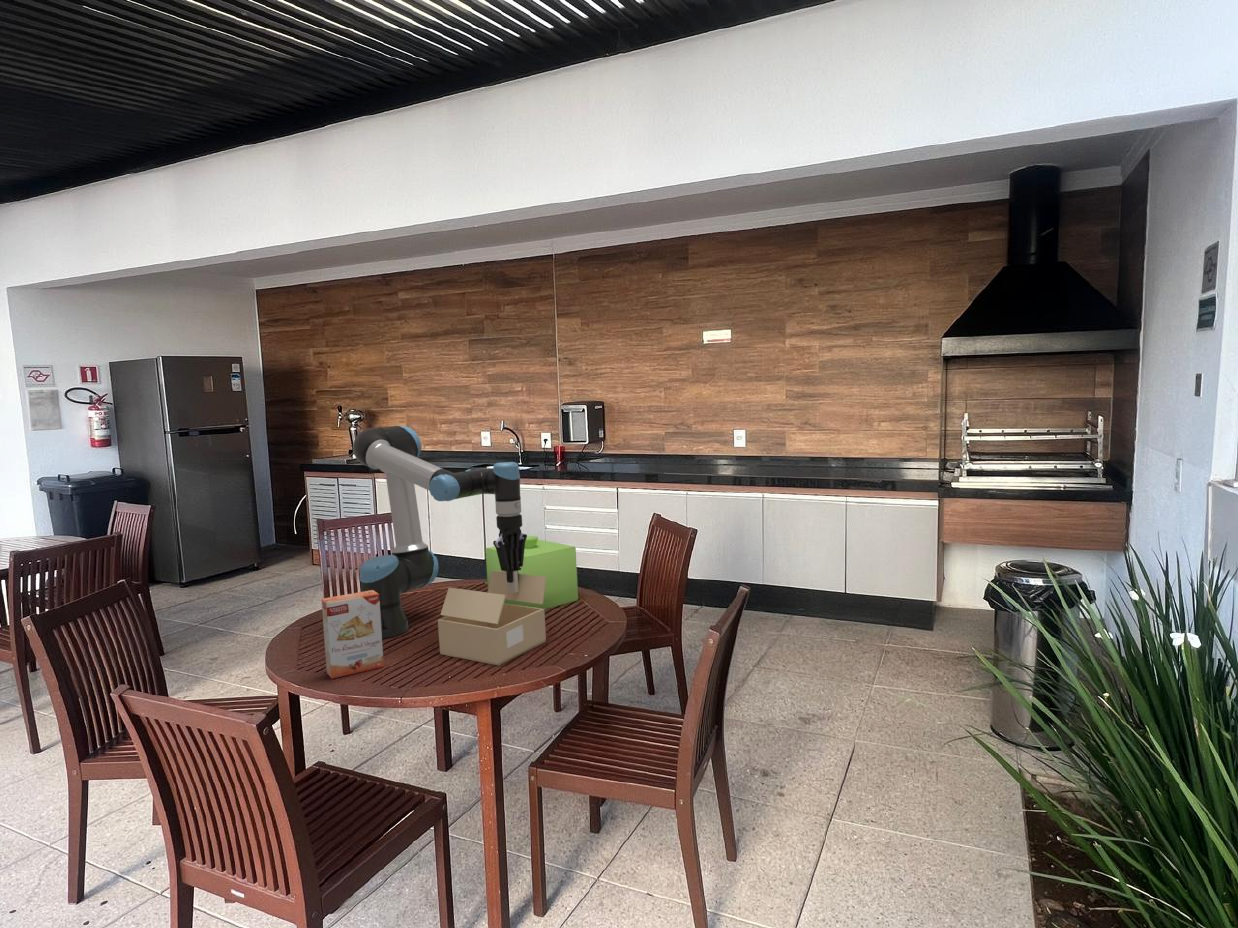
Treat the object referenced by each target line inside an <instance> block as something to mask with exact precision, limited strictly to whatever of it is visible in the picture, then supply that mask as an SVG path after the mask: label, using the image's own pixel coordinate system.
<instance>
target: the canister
mask: <svg viewBox="0 0 1238 928" xmlns="http://www.w3.org/2000/svg"><path fill="white" fill-rule="evenodd" d="M485 563H486V580H487V581H486V582H487V591H488V590H489V582H490V575H491V571H499V572H506V571H502V570H501V567H500V563H499V559H498V555H497V551H496V547H495V546H490V547H486V548H485ZM577 567H578V566H577V549H576V547H575V546H574V545H568V544H564V543H560V542H559V543H557V542H554V541H553V542H552V541H548V540H543V539H539V537H538V536H536V535H527V538H526V541H525V549H524V559H523V566H522V567H520V568H521V570H518V574H526V575H534V576H543V577H546V584H545V593H544V601H543V604H537V603H530V602H522V601H515V600H508V599H505V601H504V603H506V604H513V605H520V606H527V607H535V608H542V609H544V610H548V609H551V608H554V607H558V606H562V605H565V604H569V603H573V602H576V601H579V592H578V591H579V590H578V587H579V585H578V569H577Z"/></svg>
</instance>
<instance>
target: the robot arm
mask: <svg viewBox="0 0 1238 928" xmlns="http://www.w3.org/2000/svg"><path fill="white" fill-rule="evenodd" d="M352 451H353V455H354V457H355V459H356V460H357V461H358V462H359V463H361V464H362V465H364V466H365V467H368V468H370V469H372V470H380V472H382V473H384V474H385V481H386V486H387V487H386V488H387V493H388V501H389V507H390V508H389V509H390V516H391V520H392V521H391V522H392V529H393V533H394V534H393V535H394V541H395V547H394V548H393V549H392V551H391V554H385V555H381V556H376V557H373V558H370V559H367V560H365V561H363V563H361V565H360V566H359V581H360V582H359V583H360V592H364V591H369V590H374V591H375V592H377V593H378V594H379V600H380V615H381V631H382V640H383V639H389V638H394V637H396V636H399V635H403V634H404V633H406V632H408V630H409V620H408V619H407V616H406V614H405V611H404V609H403V605H402V600H401V598H402V597H401V595H402V594H405V593H407V592H408V593H409V592H410V591H414V590H417V589H422V588H424V587H426V586H429V585H431V584H432V583H433V582H434V581H435V579H437V576H438V573H439V562H438V558H437V556H435V553H434V552H433V551H431V550H429V546H428V544H427V543H426V542H424V541H423V535H422V529H421V527H422V526H421V521H420V514H419V508H418V500H417V493H416V487H415V486H418V487H421V488H423V489H425V490H427V491H429V493H430V495H431V497H433V499H434V500H435V501H438V502H451V501H453V500H458V499H462V498H468V497H474V496H479V495H494V500H495V502H494V504H495V514H496V515H497V516H496V517H495V518H496V520H495V521H496V528H497V529H498V531H499V533H498V538H497V540H494V541H493V543H492V544H493V545H494V546H493V547H496V551H497V555H498V559H499V563H500V567H501V570H502V571H506V573H507V582H508V592H509V593H518V592H519V590H518V579H519V577H518V570H521V568H520V567H522V566H523V559H524V549H525V541H526V538H527V536H528V534H526V533H522V530H521V527H523V516H522V514H521V513H522V501H521V498H522V497H521V475H520V467H519V464H518V463H517V462H515V461H509V462H508V461H507V462H506V461H505V462H497V463H494V464H493V469H490V468H489V469H487V468H478V467H477V468H468V469H467V470H464V471H458V472H451V471H449V470H446V469H444V468H442V467H441V466H438V465H435V464H433V463H430V462H428V461H426V460H423V459H422V458H419V456H420V454H421V452H422V442H421V439H420V437H419V435H418V434H417V433H416V431H415V430H413V428H411V427H410V426H405V425H394V426H382V427H369V428H365V429H363V430H362V431H361V432H359V433H358V434H357V435H356V436H355V438H354V440H353V443H352Z"/></svg>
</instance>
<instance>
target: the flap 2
mask: <svg viewBox="0 0 1238 928" xmlns="http://www.w3.org/2000/svg"><path fill="white" fill-rule="evenodd" d="M518 577H519V579H518V590H519V592H518V593H509V592H508V582H507V573H506V572H499V571H491V575H490V582H489V590H488V589H487V593H494V594H502V595H506V598H505V599H508V600H515V601H522V602H530V603H537V604H543V601H544V593H545V584H546V577H543V576H534V575H526V574H518Z"/></svg>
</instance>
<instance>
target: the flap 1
mask: <svg viewBox="0 0 1238 928" xmlns="http://www.w3.org/2000/svg"><path fill="white" fill-rule="evenodd" d="M445 595H446V596H445V598H444V602H443V604H442V608H441V611H440V615H441V616H444V617H447V616H450V617H456V618H462V619H469V620H475V621H481V622H487V623H493V624H498V623H499V619H500V616H501V612H502V608H503V605H504V601H505V598H506V595H502V594H494V593H488V591H487V592H485V591H478V590H470V589H463V588H458V587H457V588H454V587H448V589H447V592H446V594H445Z"/></svg>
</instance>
